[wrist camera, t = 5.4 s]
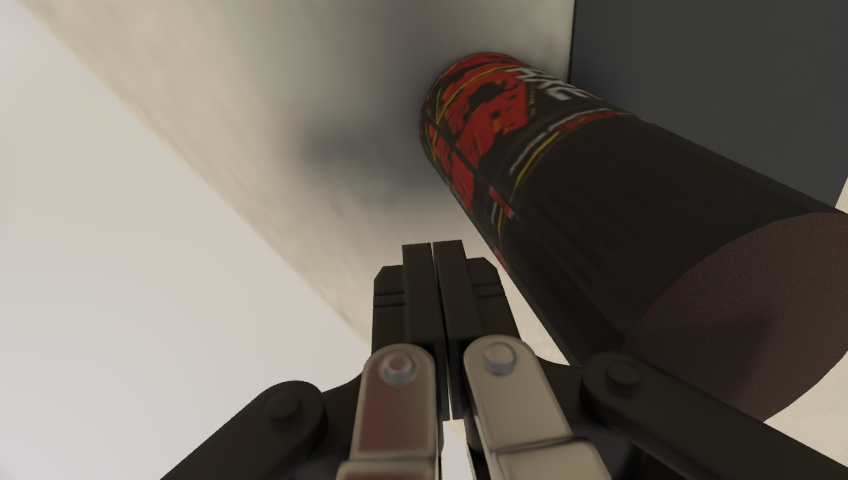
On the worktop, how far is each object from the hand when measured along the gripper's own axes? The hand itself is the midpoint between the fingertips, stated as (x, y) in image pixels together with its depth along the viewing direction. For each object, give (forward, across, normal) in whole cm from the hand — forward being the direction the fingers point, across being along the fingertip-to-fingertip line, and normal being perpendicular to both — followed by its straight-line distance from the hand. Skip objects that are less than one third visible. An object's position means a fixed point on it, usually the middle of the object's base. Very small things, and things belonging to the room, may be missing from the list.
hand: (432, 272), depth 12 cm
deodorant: (+11, -3, 0) cm, 12 cm away
